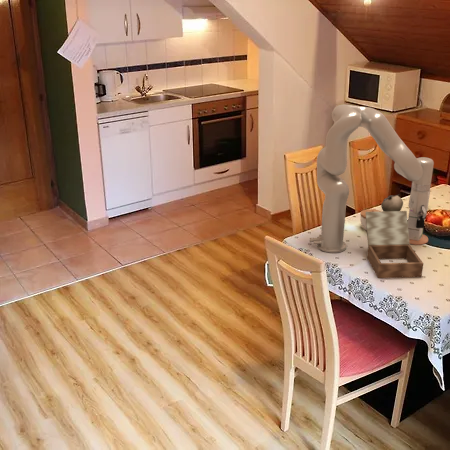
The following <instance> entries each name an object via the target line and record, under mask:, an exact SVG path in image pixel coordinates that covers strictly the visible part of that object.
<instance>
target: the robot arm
mask: <svg viewBox="0 0 450 450" xmlns="http://www.w3.org/2000/svg"><path fill="white" fill-rule="evenodd" d="M331 119H332V121H333V124H332V126H331V127H330V128H329V130H328V131H327V133H326V136H325V146H324V147H323V148H321V149H320V151H319V152H317V153H318V154H317V157H316V184H317V186H318V188H319V190H320V191H322V193H323V194H324V195H325V196H324V201H323V204H322V213H321V214H322V215H321V229H320V230H321V231H320V233H321V234H319V236H317V237H309V242H310V243H313V245H316V247H317V249H318V250H320V251H322V252H325V253H332V254H333V253H334V254H337V253H341V252H344V251H345V250H346V249H347V243H346V242H345V241H344V235H345V224H346V211H347V210H346V208H347V202H348V198H349V195H350V188H349V185H348V183H347V181H346V180H344V178H342V174H344V173H345V171H346V169H347V166H348V165H347V163H348V160H347V158H348V150H347V149H348V140H349V137H350V136H351V135H352V134H353V133H354V132H355V131H356V130H358V129H359V128H360V127H361V128H364V129H365V130H367V131H368V133H369V134H370V136H371V137H372V139H373V140H374V141H375V142H376V144H377V145H378V148H380V150H381V151H382V152H383V153H384V154H385V155H386V156H388V157H389V159H391V160H392V161H393V162H394V164H393V168H394V170H395V172H396V173H397V174H399V175H400V176H402V177H403V178H405V179H406V180H408V181H409V182H411V190H410V195H409V198H408V199H409V200H408V204H407V205H408V208H409V209H410V208H412V209H413V213H414V214H417V215H418V219H417V223H416V228H423V229H424V228H425V227H424V226H425V221H426V217H427V212H428V209H427V203H428V192H429V191H430V192H431V185H432V180H433V179H432V177H433V173H434V165H435V162H434V160H433V159H432V158H429V157H424V156H423V157H420V156H419V157H416V156H415V154H414V153H413V152H412V150H410V148H409V147H408V146H407V145H406V144H405V142H404V141H403V140H402V139H401V138H400V136H399V135H398V133H397V132H396V131H395V129H394V128H393V126H392V125H391V123H390V121H389V120H388V119H387V117H386V116H385V115H384V113H382V112H380V111H379V110H377V109H375V108H373V107H368V106H359V105H351V104H344V103H343V104H339V105H336V106H335V107H334V108H333V110H332V111H331ZM428 204H429V203H428ZM421 210H422V212H420V211H421ZM419 212H420V213H419ZM420 215H421V216H420Z"/></svg>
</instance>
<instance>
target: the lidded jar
mask: <svg viewBox="0 0 450 450" xmlns="http://www.w3.org/2000/svg"><path fill="white" fill-rule="evenodd" d="M382 211H383V210H382ZM382 211H381V210H380V209H379V210H378V209H373V208H371V209H363V210H361V211H360V224H361V225H360V226H361V227H362V228H363V229H364V230H365V231H367V225H366V212H382Z"/></svg>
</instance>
